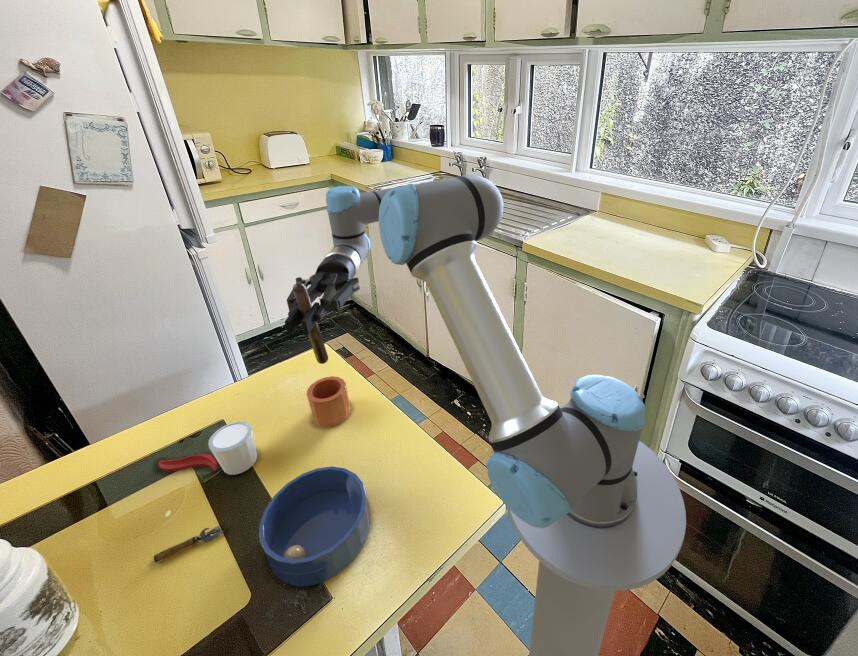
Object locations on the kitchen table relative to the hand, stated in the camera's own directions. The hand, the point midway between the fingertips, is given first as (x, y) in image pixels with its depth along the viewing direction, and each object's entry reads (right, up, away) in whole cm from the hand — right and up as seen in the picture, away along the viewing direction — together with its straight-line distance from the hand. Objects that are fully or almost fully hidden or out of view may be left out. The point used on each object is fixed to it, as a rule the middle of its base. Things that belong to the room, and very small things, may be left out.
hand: (296, 328), depth 72 cm
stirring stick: (0, -9, +12) cm, 15 cm away
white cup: (-13, -26, +6) cm, 30 cm away
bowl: (+7, -32, -6) cm, 34 cm away
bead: (+5, -31, -10) cm, 33 cm away
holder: (-1, -21, +17) cm, 27 cm away
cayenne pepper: (-23, -27, +5) cm, 35 cm away
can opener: (-13, -33, -8) cm, 36 cm away
